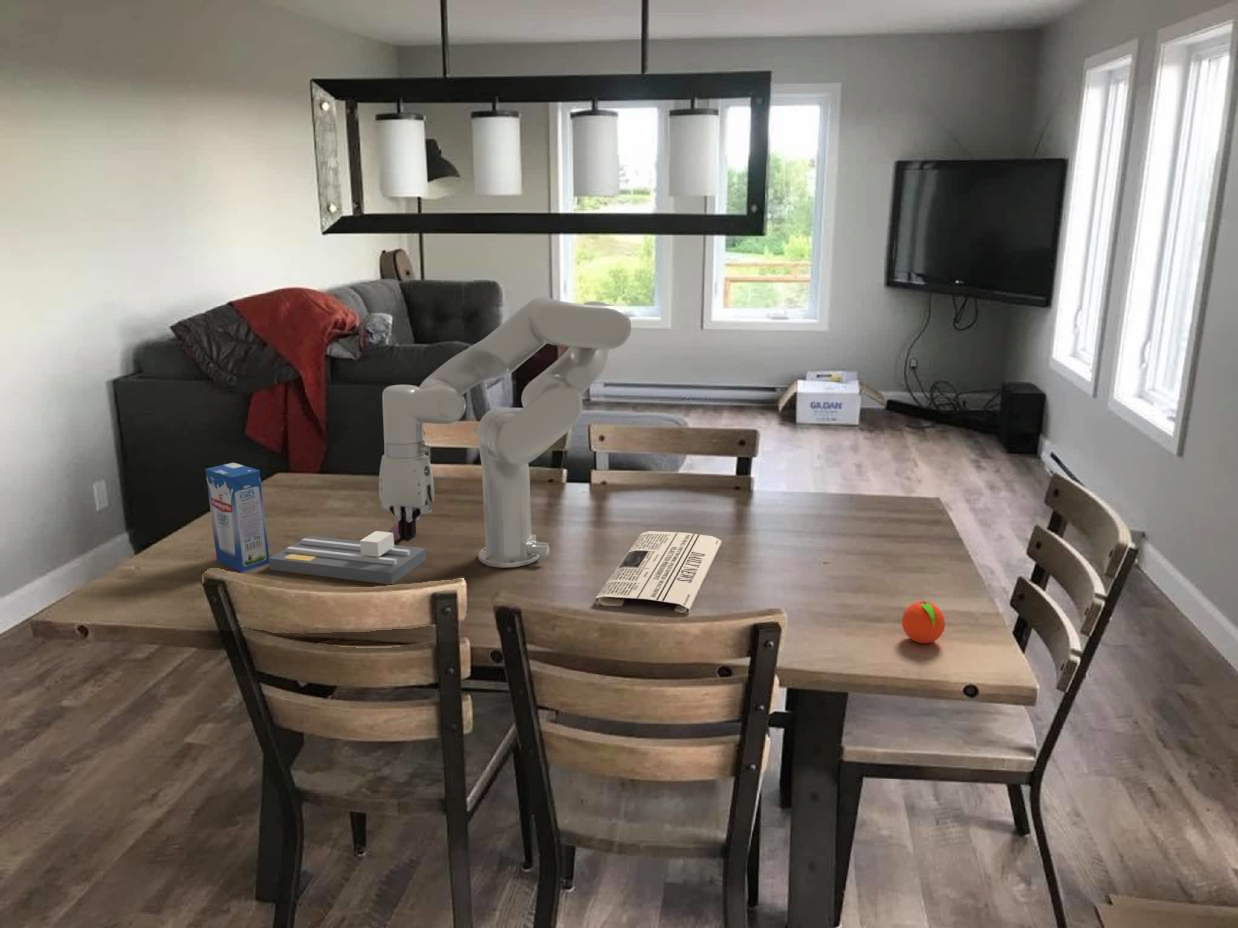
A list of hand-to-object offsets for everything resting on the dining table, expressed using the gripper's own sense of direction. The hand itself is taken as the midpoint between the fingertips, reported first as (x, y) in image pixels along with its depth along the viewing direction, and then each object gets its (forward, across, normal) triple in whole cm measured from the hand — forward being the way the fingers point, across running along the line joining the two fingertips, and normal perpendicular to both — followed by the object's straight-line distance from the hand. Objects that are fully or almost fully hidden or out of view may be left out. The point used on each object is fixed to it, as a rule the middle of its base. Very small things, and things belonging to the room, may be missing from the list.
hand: (407, 538), depth 196 cm
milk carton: (+8, +36, +4) cm, 37 cm away
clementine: (+5, -99, +3) cm, 99 cm away
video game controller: (+8, +12, -19) cm, 23 cm away
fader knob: (+5, +7, -1) cm, 9 cm away
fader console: (+8, +14, -1) cm, 16 cm away
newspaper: (+6, -50, -15) cm, 52 cm away
